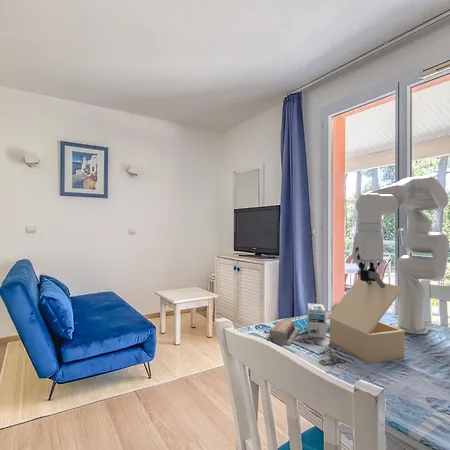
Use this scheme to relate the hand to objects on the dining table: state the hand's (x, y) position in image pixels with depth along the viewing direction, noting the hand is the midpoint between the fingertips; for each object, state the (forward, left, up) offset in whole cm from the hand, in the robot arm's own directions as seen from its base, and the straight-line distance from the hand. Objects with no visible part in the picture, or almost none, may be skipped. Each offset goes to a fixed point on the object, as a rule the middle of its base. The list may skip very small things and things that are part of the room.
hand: (367, 280), depth 111 cm
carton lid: (+1, 0, -8) cm, 9 cm away
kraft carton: (+1, 0, -25) cm, 25 cm away
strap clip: (+18, +5, -25) cm, 31 cm away
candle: (-7, -24, -25) cm, 35 cm away
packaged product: (+21, -21, -25) cm, 39 cm away
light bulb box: (+7, -20, -25) cm, 33 cm away
